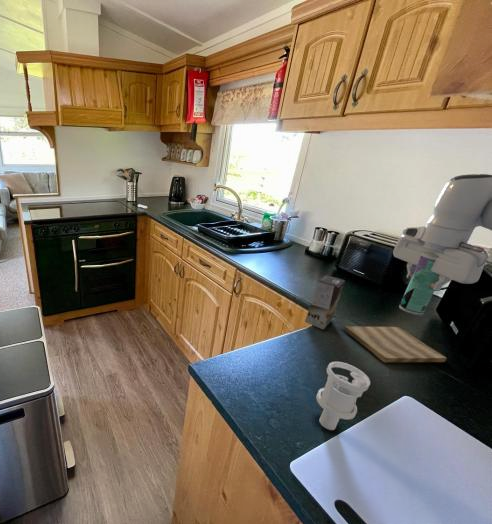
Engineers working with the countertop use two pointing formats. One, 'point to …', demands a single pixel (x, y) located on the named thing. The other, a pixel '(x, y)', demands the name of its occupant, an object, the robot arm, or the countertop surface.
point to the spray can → (420, 285)
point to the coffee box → (324, 301)
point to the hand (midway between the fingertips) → (421, 284)
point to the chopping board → (394, 344)
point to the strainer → (340, 395)
